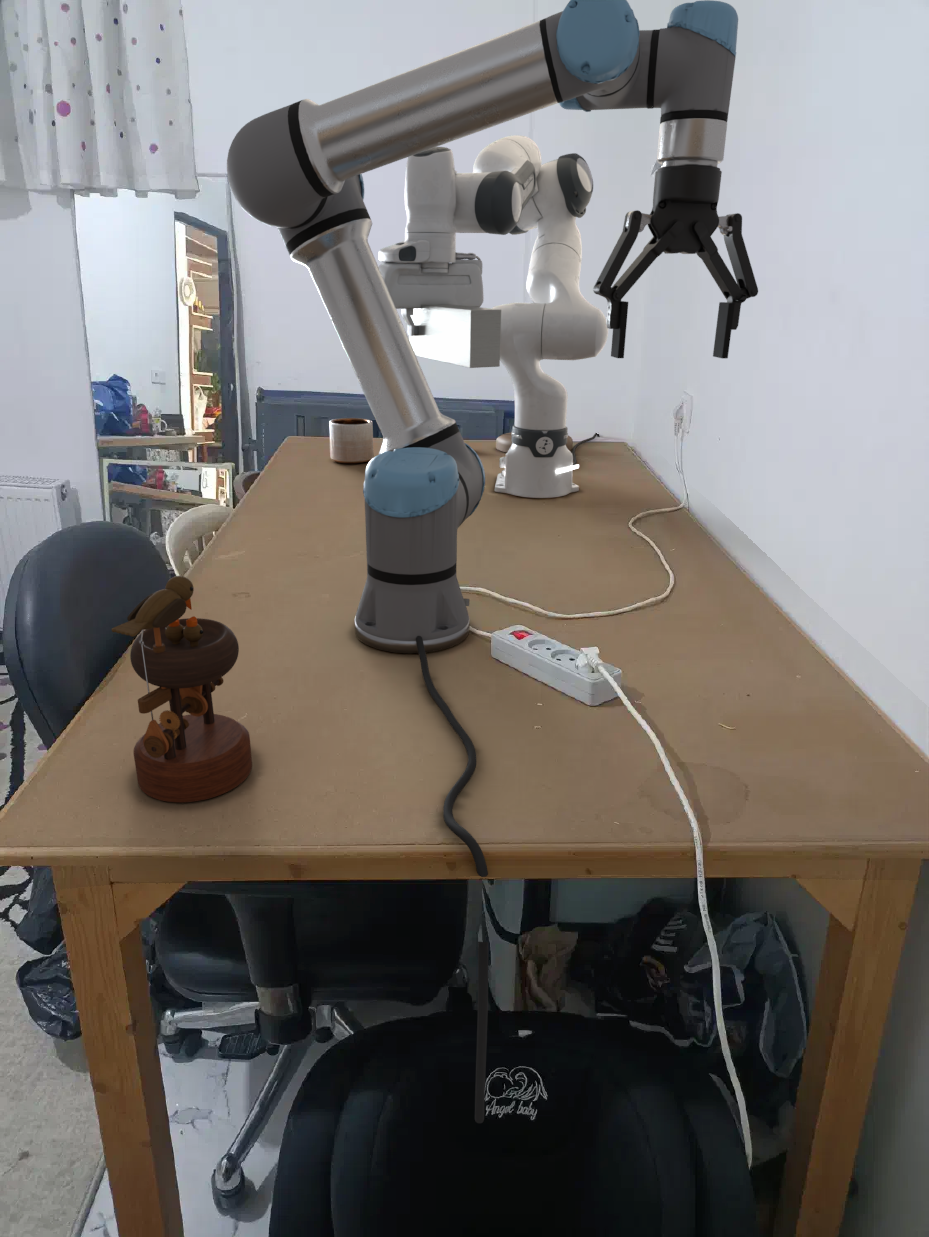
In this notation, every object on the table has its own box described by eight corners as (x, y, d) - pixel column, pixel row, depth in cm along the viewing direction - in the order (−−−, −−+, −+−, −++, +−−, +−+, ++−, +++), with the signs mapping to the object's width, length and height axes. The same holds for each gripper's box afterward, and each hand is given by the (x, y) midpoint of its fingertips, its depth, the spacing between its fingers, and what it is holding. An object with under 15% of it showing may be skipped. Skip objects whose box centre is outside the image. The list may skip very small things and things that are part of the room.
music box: (228, 817, 74) (184, 604, 66) (110, 816, 75) (54, 607, 68) (282, 730, 88) (250, 546, 80) (182, 730, 89) (142, 549, 82)
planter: (327, 456, 217) (325, 418, 214) (369, 454, 220) (368, 417, 217) (334, 465, 208) (332, 425, 204) (377, 463, 211) (376, 424, 207)
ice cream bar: (502, 464, 212) (503, 447, 210) (493, 443, 238) (494, 428, 236) (585, 464, 213) (587, 448, 211) (568, 443, 239) (569, 428, 237)
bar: (499, 366, 139) (501, 309, 136) (470, 368, 137) (470, 310, 133) (436, 353, 158) (436, 303, 154) (409, 354, 155) (408, 303, 152)
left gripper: (773, 173, 103) (748, 354, 111) (575, 166, 99) (564, 354, 107) (805, 166, 96) (776, 360, 104) (595, 158, 93) (581, 360, 101)
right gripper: (473, 253, 154) (472, 332, 160) (369, 251, 145) (372, 335, 151) (491, 253, 149) (489, 335, 155) (384, 250, 140) (386, 338, 146)
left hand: (669, 357), depth 106 cm, fingers open, 13 cm apart
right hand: (430, 335), depth 153 cm, fingers closed on bar, 5 cm apart
